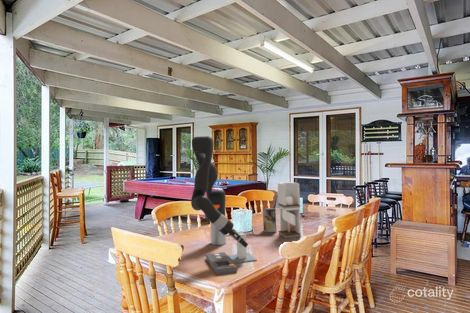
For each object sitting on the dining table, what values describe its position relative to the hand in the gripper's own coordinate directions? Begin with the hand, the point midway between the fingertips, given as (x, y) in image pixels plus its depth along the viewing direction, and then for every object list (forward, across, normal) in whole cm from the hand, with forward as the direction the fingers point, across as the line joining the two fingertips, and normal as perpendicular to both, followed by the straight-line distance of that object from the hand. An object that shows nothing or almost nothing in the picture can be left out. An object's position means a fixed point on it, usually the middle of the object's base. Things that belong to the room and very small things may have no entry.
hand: (244, 244), depth 171 cm
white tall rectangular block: (+4, 0, +6) cm, 7 cm away
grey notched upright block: (+36, +36, -25) cm, 57 cm away
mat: (+4, 0, +6) cm, 8 cm away
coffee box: (+31, +51, -20) cm, 63 cm away
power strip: (-5, -4, +16) cm, 17 cm away
